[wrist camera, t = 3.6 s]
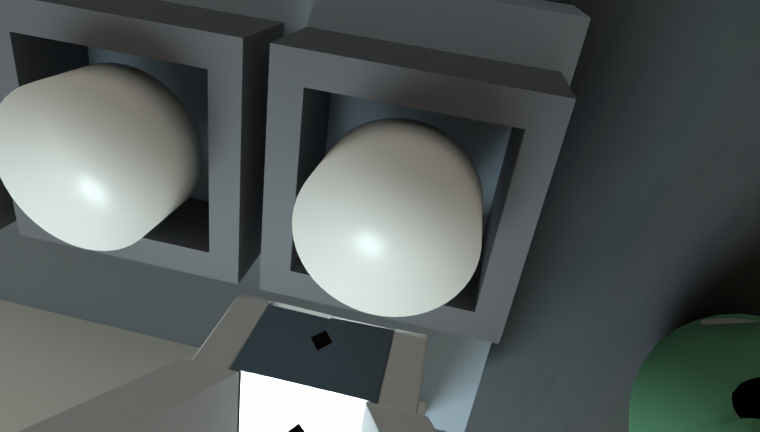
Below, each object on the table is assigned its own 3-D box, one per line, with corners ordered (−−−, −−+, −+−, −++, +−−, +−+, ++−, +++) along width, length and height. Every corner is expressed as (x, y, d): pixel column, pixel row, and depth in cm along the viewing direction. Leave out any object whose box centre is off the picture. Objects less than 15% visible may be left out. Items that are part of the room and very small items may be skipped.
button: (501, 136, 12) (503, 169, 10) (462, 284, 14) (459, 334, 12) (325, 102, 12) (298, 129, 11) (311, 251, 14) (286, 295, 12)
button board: (573, 4, 15) (613, 34, 10) (466, 375, 22) (459, 502, 17) (-98, -107, 17) (-335, -127, 12) (-11, 263, 24) (-142, 347, 19)
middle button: (201, 79, 13) (154, 100, 11) (203, 227, 14) (163, 266, 13) (43, 48, 13) (-26, 64, 11) (65, 197, 15) (8, 231, 13)
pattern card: (427, 399, 19) (396, 625, 12) (423, 414, 19) (391, 642, 13) (-46, 285, 20) (-280, 434, 14) (-42, 301, 21) (-268, 453, 14)
